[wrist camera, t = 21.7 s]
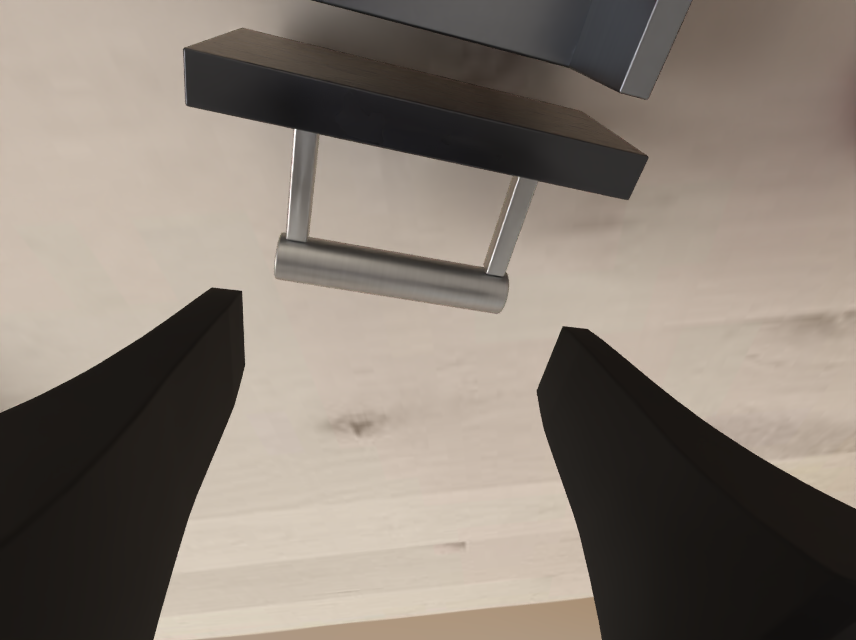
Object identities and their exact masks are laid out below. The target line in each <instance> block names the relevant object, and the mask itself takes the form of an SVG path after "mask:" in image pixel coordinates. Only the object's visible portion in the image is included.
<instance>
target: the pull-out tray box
mask: <svg viewBox="0 0 856 640" xmlns="http://www.w3.org/2000/svg"><path fill="white" fill-rule="evenodd" d="M312 1H316V2H320V3H324V4H328V5H331V6H335V7H339V8H343V9H347V10H351V11H354V12H358V13H362V14H366V15H370V16H373V17H377V18H381V19H385V20H389V21H392V22H396V23H400V24H404V25H408V26H411V27H415V28H419V29H423V30H427V31H430V32H434V33H438V34H442V35H446V36H449V37H453V38H457V39H461V40H465V41H468V42H472V43H476V44H480V45H484V46H487V47H491V48H495V49H499V50H503V51H507V52H510V53H514V54H518V55H522V56H526V57H529V58H533V59H537V60H541V61H545V62H548V63H552V64H556V65H560V66H564V67H567V68H570V69H572V70H574V71H576V72H578V73H580V74H582V75H584V76H586V77H588V78H590V79H592V80H595V81H597V82H599V83H601V84H603V85H605V86H607V87H609V88H611V89H613V90H615V91H617V92H619V93H622V94H626V95H629V96H633V97H637V98H641V99H645V100H647V99H648V98H649V97H650V94H651V92H652V90H653V88H654V85H655V83H656V81H657V79H658V76H659V74H660V72H661V70H662V67H663V65H664V63H665V61H666V58H667V56H668V54H669V52H670V49H671V47H672V45H673V43H674V41H675V38H676V36H677V34H678V32H679V29H680V27H681V25H682V23H683V20H684V18H685V16H686V14H687V11H688V9H689V7H690V5H691V2H692V0H312ZM183 57H184V81H185V104H186V105H187V106H189V107H194V108H198V109H203V110H208V111H212V112H217V113H222V114H227V115H231V116H236V117H241V118H245V119H250V120H255V121H259V122H264V123H269V124H273V125H278V126H283V127H287V128H292V129H294V134H293V148H292V161H291V174H290V188H289V201H288V214H287V228H286V233H284V232H283V233H281V235H280V237H279V240H278V244H277V249H276V255H275V265H274V275H275V278H276V279H278V280H285V281H291V282H297V283H304V284H310V285H316V286H323V287H329V288H335V289H342V290H348V291H355V292H361V293H367V294H374V295H380V296H386V297H393V298H399V299H405V300H412V301H418V302H424V303H431V304H437V305H444V306H450V307H456V308H463V309H469V310H475V311H482V312H488V313H494V314H498V313H500V312H501V311H502V310H503V308H504V306H505V303H506V300H507V296H508V290H509V278H508V274H507V273H506V269H507V267H508V264H509V261H510V258H511V255H512V253H513V250H514V247H515V244H516V242H517V239H518V236H519V233H520V231H521V228H522V225H523V222H524V219H525V217H526V214H527V211H528V208H529V206H530V203H531V200H532V197H533V195H534V192H535V189H536V186H537V184H538V181H540V182H545V183H549V184H554V185H559V186H563V187H568V188H573V189H578V190H582V191H587V192H592V193H596V194H601V195H606V196H610V197H615V198H620V199H624V200H629V198H630V196H631V194H632V192H633V190H634V187H635V185H636V183H637V181H638V179H639V177H640V175H641V173H642V171H643V169H644V166H645V164H646V162H647V160H648V156H647V155H646V154H644V153H643V152H641V151H640V150H638V149H637V148H635V147H634V146H632V145H631V144H629V143H628V142H626V141H625V140H623V139H622V138H621V137H619V136H618V135H616V134H615V133H613V132H612V131H610V130H609V129H607V128H606V127H604V126H603V125H601V124H600V123H599V122H597V121H596V120H594V119H593V118H591V117H590V116H588V115H587V114H585V113H584V112H582V111H579V110H575V109H571V108H567V107H562V106H558V105H554V104H550V103H546V102H542V101H538V100H534V99H530V98H526V97H522V96H518V95H514V94H510V93H506V92H502V91H497V90H493V89H489V88H485V87H481V86H477V85H473V84H469V83H465V82H461V81H457V80H453V79H449V78H445V77H441V76H437V75H433V74H428V73H424V72H420V71H416V70H412V69H408V68H404V67H400V66H396V65H392V64H388V63H384V62H380V61H376V60H372V59H368V58H364V57H359V56H355V55H351V54H347V53H343V52H339V51H335V50H331V49H327V48H323V47H319V46H315V45H311V44H307V43H303V42H299V41H294V40H290V39H286V38H282V37H278V36H274V35H270V34H266V33H262V32H258V31H254V30H250V29H246V28H240V29H237V30H234V31H231V32H228V33H226V34H223V35H220V36H217V37H214V38H211V39H208V40H205V41H202V42H200V43H197V44H194V45H191V46H188V47H185V48H184V49H183ZM319 135H325V136H329V137H334V138H339V139H344V140H348V141H353V142H358V143H362V144H367V145H372V146H376V147H381V148H386V149H390V150H395V151H400V152H404V153H409V154H414V155H418V156H423V157H428V158H432V159H437V160H442V161H446V162H451V163H456V164H461V165H465V166H470V167H475V168H479V169H484V170H489V171H493V172H498V173H503V174H507V175H512V179H511V182H510V185H509V188H508V192H507V195H506V198H505V201H504V204H503V207H502V210H501V213H500V216H499V219H498V222H497V225H496V228H495V231H494V234H493V237H492V240H491V243H490V246H489V249H488V252H487V255H486V258H485V261H484V264H483V265H484V267H479V266H473V265H467V264H461V263H456V262H450V261H444V260H439V259H433V258H427V257H421V256H416V255H410V254H404V253H399V252H393V251H387V250H381V249H376V248H370V247H364V246H359V245H353V244H347V243H341V242H336V241H330V240H324V239H318V238H313V237H308V236H309V232H310V222H311V212H312V203H313V193H314V183H315V174H316V164H317V154H318V145H319Z"/></svg>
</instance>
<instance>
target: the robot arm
mask: <svg viewBox="0 0 856 640" xmlns="http://www.w3.org/2000/svg"><path fill="white" fill-rule="evenodd" d="M244 367H245V352H244V327H243V302H242V291H238V290H229V289H220V288H211V289H209V290H208V291H206V292H205V293H203V294H202V295H201V296H199V297H198V298H196V299H195V300H194V301H192V302H191V303H189V304H188V305H187V306H185V307H184V308H183V309H181V310H180V311H178V312H177V313H176V314H174V315H173V316H171V317H170V318H169V319H167V320H166V321H164V322H163V323H162V324H160V325H159V326H157V327H156V328H154V329H153V330H151V331H150V332H149V333H147V334H146V335H144V336H143V337H141V338H140V339H138V340H136V341H135V342H133V343H132V344H130V345H128V346H127V347H125V348H124V349H122V350H120V351H119V352H117V353H116V354H114V355H112V356H111V357H109V358H108V359H106V360H104V361H103V362H101V363H100V364H98V365H96V366H94V367H93V368H91V369H89V370H87V371H86V372H84V373H82V374H80V375H78V376H76V377H75V378H73V379H71V380H69V381H67V382H65V383H63V384H61V385H59V386H57V387H55V388H53V389H51V390H49V391H47V392H45V393H43V394H41V395H39V396H37V397H35V398H33V399H31V400H29V401H26V402H24V403H22V404H20V405H17V406H15V407H13V408H11V409H8V410H6V411H4V412H1V413H0V640H153V639H154V635H155V632H156V628H157V624H158V620H159V617H160V613H161V610H162V606H163V603H164V599H165V596H166V592H167V589H168V585H169V582H170V578H171V575H172V571H173V568H174V564H175V561H176V558H177V554H178V551H179V548H180V544H181V541H182V538H183V535H184V531H185V528H186V525H187V521H188V518H189V515H190V513H191V510H192V507H193V504H194V502H195V499H196V496H197V494H198V491H199V489H200V487H201V484H202V482H203V480H204V477H205V475H206V472H207V470H208V468H209V465H210V463H211V461H212V458H213V456H214V453H215V451H216V449H217V446H218V444H219V442H220V439H221V437H222V434H223V432H224V430H225V427H226V425H227V422H228V420H229V417H230V415H231V413H232V410H233V408H234V405H235V401H236V398H237V394H238V391H239V387H240V383H241V379H242V375H243V371H244ZM537 396H538V402H539V408H540V413H541V418H542V422H543V427H544V431H545V434H546V437H547V440H548V443H549V446H550V449H551V452H552V455H553V458H554V460H555V463H556V466H557V469H558V472H559V475H560V477H561V480H562V483H563V486H564V489H565V492H566V494H567V497H568V500H569V503H570V506H571V509H572V511H573V514H574V518H575V521H576V524H577V528H578V531H579V534H580V538H581V543H582V547H583V551H584V555H585V560H586V564H587V568H588V572H589V577H590V581H591V586H592V591H593V596H594V601H595V605H596V610H597V615H598V620H599V625H600V631H601V637H602V640H856V509H855V508H853V507H851V506H849V505H847V504H845V503H843V502H841V501H839V500H837V499H835V498H833V497H831V496H829V495H827V494H825V493H823V492H821V491H819V490H817V489H815V488H813V487H812V486H810V485H808V484H806V483H804V482H802V481H800V480H799V479H797V478H795V477H793V476H792V475H790V474H788V473H786V472H785V471H783V470H781V469H779V468H777V467H776V466H774V465H772V464H770V463H769V462H767V461H765V460H764V459H762V458H760V457H759V456H757V455H755V454H754V453H752V452H750V451H749V450H747V449H746V448H744V447H743V446H741V445H740V444H738V443H737V442H735V441H733V440H732V439H730V438H729V437H727V436H726V435H724V434H723V433H721V432H720V431H718V430H717V429H715V428H714V427H712V426H711V425H709V424H708V423H707V422H705V421H704V420H702V419H701V418H700V417H698V416H697V415H696V414H694V413H693V412H692V411H690V410H689V409H688V408H686V407H685V406H684V405H682V404H681V403H680V402H678V401H677V400H676V399H674V398H673V397H672V396H670V395H669V394H668V393H667V392H665V391H664V390H663V389H662V388H660V387H659V386H658V385H657V384H655V383H654V382H653V381H652V380H650V379H649V378H648V377H647V376H646V375H644V374H643V373H642V372H641V371H640V370H638V369H637V368H636V367H635V366H634V365H632V364H631V363H630V362H629V361H628V360H626V359H625V358H624V357H623V356H622V355H620V354H619V353H618V352H617V351H616V350H614V349H613V348H612V347H611V346H609V345H608V344H607V343H606V342H604V341H603V340H602V339H601V338H599V337H598V336H597V335H595V334H594V333H592V332H591V331H589V330H588V329H583V328H574V327H565V326H563V327H562V330H561V332H560V334H559V337H558V339H557V342H556V344H555V347H554V349H553V352H552V354H551V357H550V359H549V362H548V364H547V367H546V369H545V371H544V374H543V376H542V379H541V381H540V384H539V386H538V389H537Z"/></svg>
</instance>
